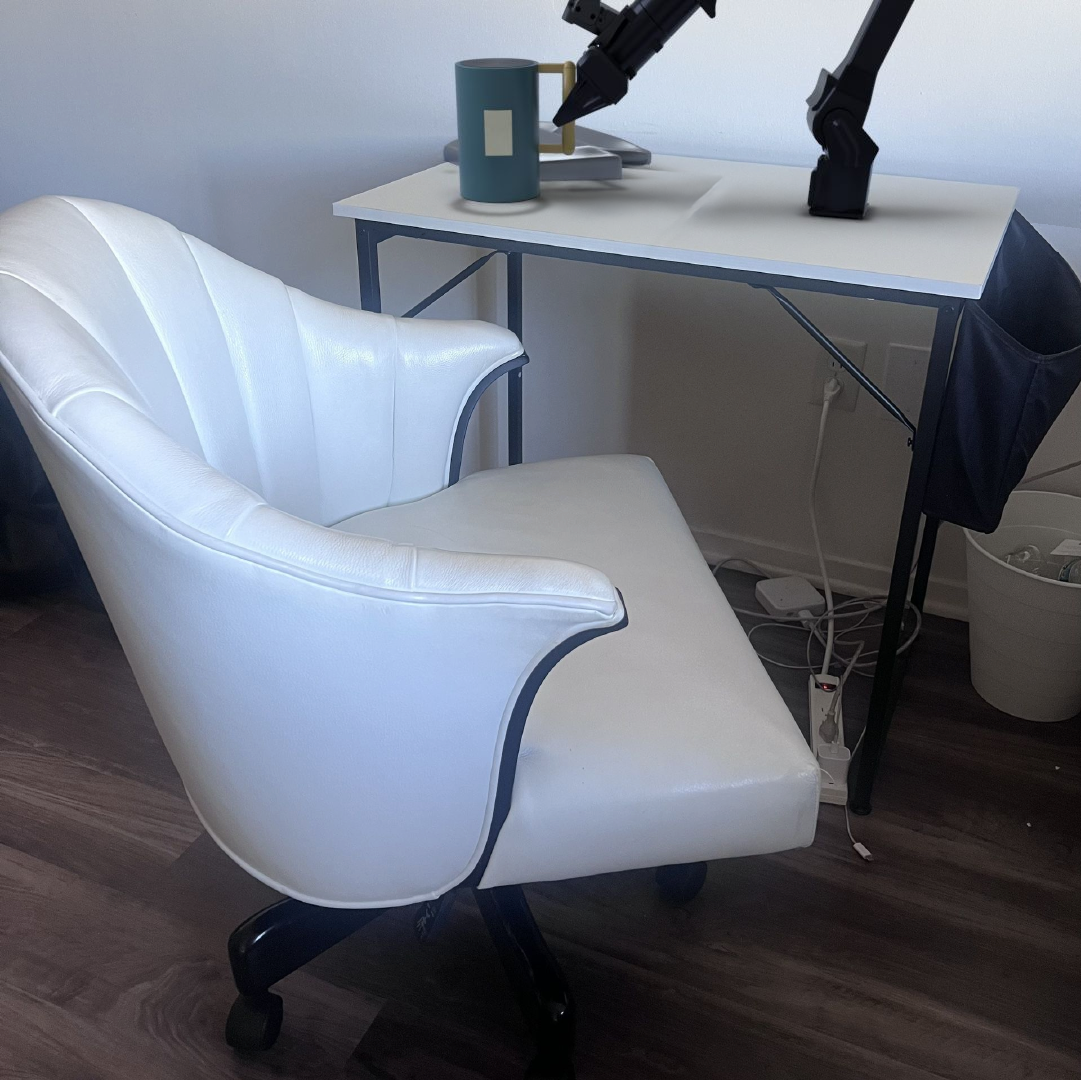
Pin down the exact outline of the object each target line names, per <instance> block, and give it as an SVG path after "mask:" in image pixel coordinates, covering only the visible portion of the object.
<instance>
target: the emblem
mask: <svg viewBox="0 0 1081 1080" xmlns="http://www.w3.org/2000/svg"><path fill="white" fill-rule="evenodd" d="M539 143H562V126H561V127H556V125H555V124H554V123H553V122H552V121H545V120H544V121H543V120H539ZM442 154H443V160H444V161H445V162H447V163H449V164H452V165H454V166H457V167H459V152H458V138H457V139H453V140H451V141H449V142H448V143H447V144H444V146H443V153H442ZM652 158H653V157H652V152H651V150H648V149H646V148H643V147H641V146H639V145H637V144H635V143H633V142H630V141H628V140H626V139H623V138H621V137H618V136H616V135H612V134H609V133H606V132H602V131H599V130H595V129H592V128H588V127H585V126H582V125H578V124H575V151H574V153H573V154H572V155H569V156H567V155H565V154H563V153H540V182H561V181H562V182H563V181H565V182H566V181H604V180H605V181H606V180H608V181H611V180H622V179H623V167H643V166H650V165H651V164H652Z"/></svg>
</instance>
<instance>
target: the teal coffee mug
mask: <svg viewBox="0 0 1081 1080" xmlns="http://www.w3.org/2000/svg"><path fill="white" fill-rule="evenodd" d="M540 74H561V78H562V79H561V81H562V82H561V89H562V90H561V96H562V98H561V105H562V104H563V102H564V101H565V99H566V98H567V96H568V95H569V93H570V92H571V90H572V89H573V87H574V86H575V84H576V80H577V79H576V64H575V63H574V62H573V61H572V60H567V61H565V62H560V63H559V62H539V61H537V60H534V59H526V58H516V57H515V58H513V57H486V58H472V59H471V58H470V59H464V60H459V61H456V62H455V63H454V79H455V102H456V125H457V128H456V129H457V139H458V152H459V166H458V171H459V174H458V175H459V194H460V196H461V197H462V198H464V199H467V200H469V201H474V202H481V203H493V204H494V203H495V204H498V203H500V204H503V203H516V202H523V201H528V200H531V199H534V198H536V197H538V196H539V195H540V192H541V188H540V187H541V186H540V185H541V181H540V153H563V154H565V155H567V156H569V155H572V154H573V153H574V151H575V125H576V120H574V121H572V122H570V123H567V124H565V125H563V126H562V143H539V121H540Z"/></svg>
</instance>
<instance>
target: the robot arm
mask: <svg viewBox="0 0 1081 1080" xmlns="http://www.w3.org/2000/svg"><path fill="white" fill-rule="evenodd" d="M717 3H718V0H634V1H633V2H632V3H630V4H628V3H627V4H626V5H625V6H624V7H623V8H622V9H621V10H620V11H619V10H617V9H615V8H614V7H611V5H608V4H606V3H605V2H603V1H602V0H568V1H567V3H566V6H565V9H564V10H563V13H562V15H561V20H563V21H564V22H566V23H568V24H569V25H575V26H578V27H579V28H581V29H583V30H585V31H587V32H588V33H591V34H593V35H595V37H594V38H593V39H592V41H591V42H589V44H588V45H587V48H588V49H587V50H584V51H583V53H582V55H581V57H579V59H578V60H577V61H576V64H575V66H576V84H575V86H574V87H573V89H572V90H571V92H570V93H569V95H568V96H567V98H566V99H565V101H564V102H563V104H562V103H561V104H560V106H559V108H558V109H557V110H556V113H555V114H554V117H552V120H551V122H553V123H554V124H555V125H556V127H561V126H563V125H565V124H567V123H570V122H572V121H574V120H575V121H576V120H579V119H581V118H583V117H585V116H588V115H589V114H593V113H595V112H597V111H600V110H602V109H605V108H607V107H611V106H613V105H614V106H617V104H618V103H619V102H620V101H622V100H623V98H624V97H625V96H626V95H628V92H629V87H630V82H631V81H632V80H633V79H634V78H636V76H637V75H638V72H639V71H640V70H641V69H642V68H643V67H644V66H645V65H646V64H647V63H648V62H649V61H650V60H651V59H652V58H653V57H654V56H655V54H658V53H659V52H661V50H662V49H664V46H665V44H666V43H667V42H669V40H670V39H671V38H672V37H673V36H674V35H675V34H676V33H677V32H678V31H679V30H680V29H681V27H683V26H684V24H686V23H687V21H688V20H689V19H690V18H691V17H692V16H693V15H694V14H695V13H696V12H697V11H698V10H699V9H700V8H701V9H702V10H703V12H704V13H705V14H706V15H707V16H708V18H709V19H715V18H716V16H717ZM914 3H915V0H872V1H871V4H870V6H869V8H868V10H867V12H866V14H865V16H864V18H863V20H862V22H861V24H860V26H859V29H858V30H857V33H856V35H855V36H854V39H853V41H852V43H851V45H850V46H849V49H848V51H847V53H846V55H845V57H844V58H843V60H842V61H840V63H839V64H838V65H837V67H836V68H835V69H834V70H833V72H831V71H830V70H828V69H826V68H825V67H822V68H821V69H820V72H819V75H818V78H817V80H816V84H815V87H814V89H813V91H812V92H811V94H810V95H809V96H808V97H807V98H806V99H805V103H806V104H807V106H808V108H807V111H806V124H807V127H808V130H809V132H810V133H811V135H812V136H813V138H814V140H815V141H816V142H817V144H818V145H820V147H821V151H822V152H823V153H822V154H820V155H819V157H818V158H817V162H816V166H815V167H814V168H813V169H812V170H811V171H810V177H809V184H808V185H809V187H808V194H807V202H806V205H807V207H809V208H808V212H807V214H809V215H817V216H827V217H829V216H830V217H839V218H849V219H850V218H852V219H864V217H865V215H866V214H867V211H868V209H869V207H870V203H869V202H868V201H869V195H870V190H871V189H870V188H871V182H872V176H873V175H872V174H873V169H874V162H875V159H876V158H877V155H878V153H879V151H880V147H879V146H878V144H877V143H876V142H875V141H874V139H873V138H871V136H870V135H869V134H868V133H867V131H866V130H865V129H864V125H865V121H866V119H867V116H868V113H869V110H870V107H871V104H872V99H873V95H874V90H875V86H876V82H877V77H878V74H879V72H880V69H881V67H882V65H883V63H884V61H885V60H886V58H887V55H888V53H890V50H891V47H892V45H893V44H894V42H895V40H896V38H897V36H898V34H899V32H900V31H901V28H902V26H903V24H904V22H905V20H906V18H907V16H908V15H909V12H910V11H911V8H912V7H913V4H914Z"/></svg>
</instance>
